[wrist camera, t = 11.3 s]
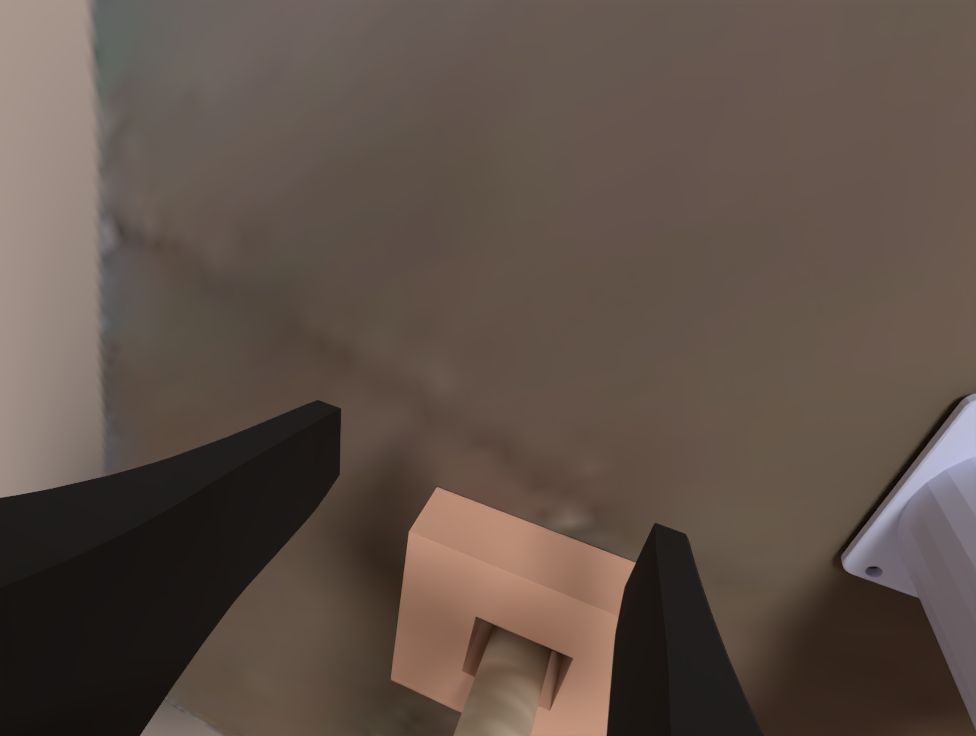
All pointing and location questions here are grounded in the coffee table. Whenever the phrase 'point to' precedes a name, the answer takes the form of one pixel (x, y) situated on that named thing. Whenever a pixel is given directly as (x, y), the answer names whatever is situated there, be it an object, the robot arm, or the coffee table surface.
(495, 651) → the peg
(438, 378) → the coffee table surface
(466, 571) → the socket block
